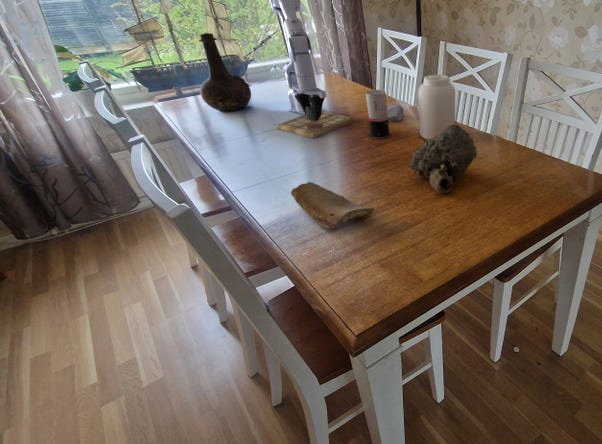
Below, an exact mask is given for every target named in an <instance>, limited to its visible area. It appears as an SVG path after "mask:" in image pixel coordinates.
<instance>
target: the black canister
mask: <svg viewBox="0 0 602 444" xmlns="http://www.w3.org/2000/svg"><path fill="white" fill-rule="evenodd" d="M305 111H306V115H307V119H309V120H310V121H317V120H319V119H320V117H315V114H314V110H313V107H312V105H311V104H307V105H306V107H305Z"/></svg>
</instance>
